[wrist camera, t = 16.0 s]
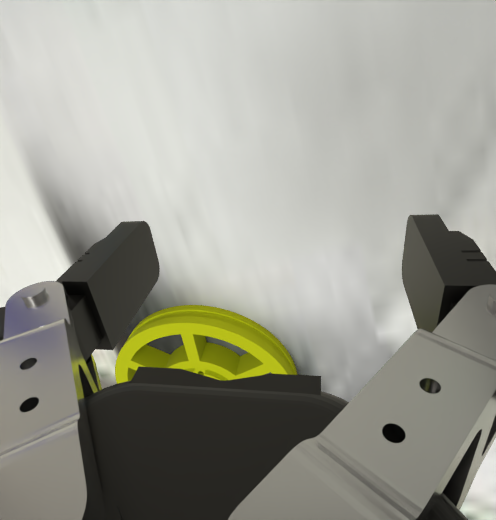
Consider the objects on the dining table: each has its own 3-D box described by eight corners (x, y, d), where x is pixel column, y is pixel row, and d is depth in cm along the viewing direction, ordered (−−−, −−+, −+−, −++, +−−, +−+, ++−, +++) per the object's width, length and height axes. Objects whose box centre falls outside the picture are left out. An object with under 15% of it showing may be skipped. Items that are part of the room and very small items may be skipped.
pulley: (124, 402, 69) (111, 427, 65) (130, 281, 54) (114, 303, 50) (273, 445, 68) (270, 472, 64) (322, 334, 53) (322, 361, 49)
